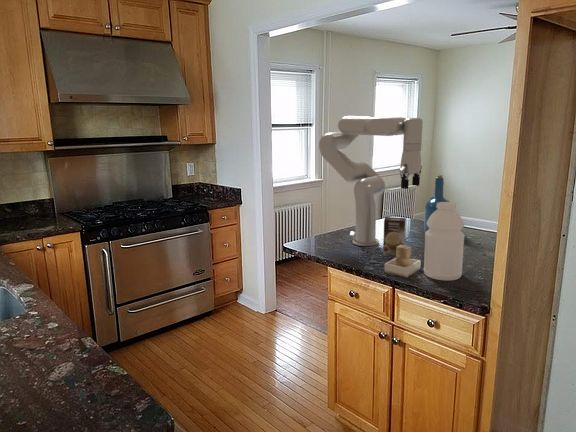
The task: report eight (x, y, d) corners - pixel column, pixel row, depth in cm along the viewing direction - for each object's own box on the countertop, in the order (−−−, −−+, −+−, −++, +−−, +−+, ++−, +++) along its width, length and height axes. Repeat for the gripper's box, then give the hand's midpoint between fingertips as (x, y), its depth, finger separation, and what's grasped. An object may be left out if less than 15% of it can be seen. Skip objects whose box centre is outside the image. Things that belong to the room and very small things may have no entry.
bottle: (457, 283, 156) (462, 208, 150) (419, 277, 164) (422, 205, 157) (465, 271, 168) (469, 201, 162) (428, 266, 175) (431, 198, 169)
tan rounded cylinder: (395, 268, 172) (396, 246, 170) (400, 266, 174) (400, 244, 172) (406, 270, 169) (406, 248, 167) (410, 268, 171) (411, 246, 169)
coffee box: (382, 255, 191) (383, 219, 187) (384, 250, 197) (384, 216, 193) (403, 256, 188) (404, 220, 184) (404, 252, 194) (405, 217, 190)
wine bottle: (454, 235, 217) (457, 176, 210) (428, 236, 217) (430, 177, 210) (445, 228, 230) (448, 172, 223) (420, 229, 230) (422, 173, 223)
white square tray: (384, 272, 170) (384, 263, 170) (398, 264, 179) (398, 256, 178) (406, 277, 164) (407, 268, 163) (420, 268, 173) (420, 260, 172)
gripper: (414, 145, 193) (412, 183, 197) (393, 148, 181) (392, 188, 185) (429, 146, 188) (427, 185, 192) (410, 149, 176) (408, 190, 180)
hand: (410, 186), depth 188 cm, fingers open, 9 cm apart
